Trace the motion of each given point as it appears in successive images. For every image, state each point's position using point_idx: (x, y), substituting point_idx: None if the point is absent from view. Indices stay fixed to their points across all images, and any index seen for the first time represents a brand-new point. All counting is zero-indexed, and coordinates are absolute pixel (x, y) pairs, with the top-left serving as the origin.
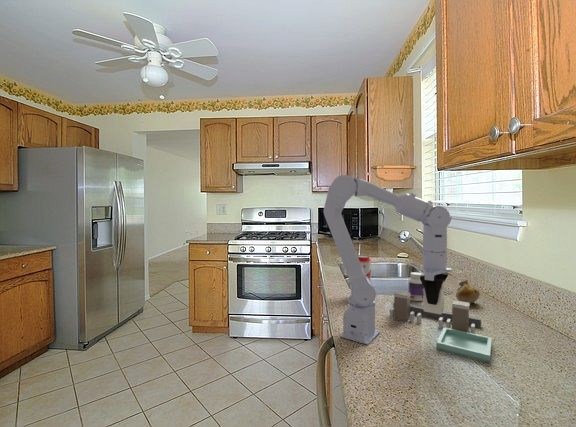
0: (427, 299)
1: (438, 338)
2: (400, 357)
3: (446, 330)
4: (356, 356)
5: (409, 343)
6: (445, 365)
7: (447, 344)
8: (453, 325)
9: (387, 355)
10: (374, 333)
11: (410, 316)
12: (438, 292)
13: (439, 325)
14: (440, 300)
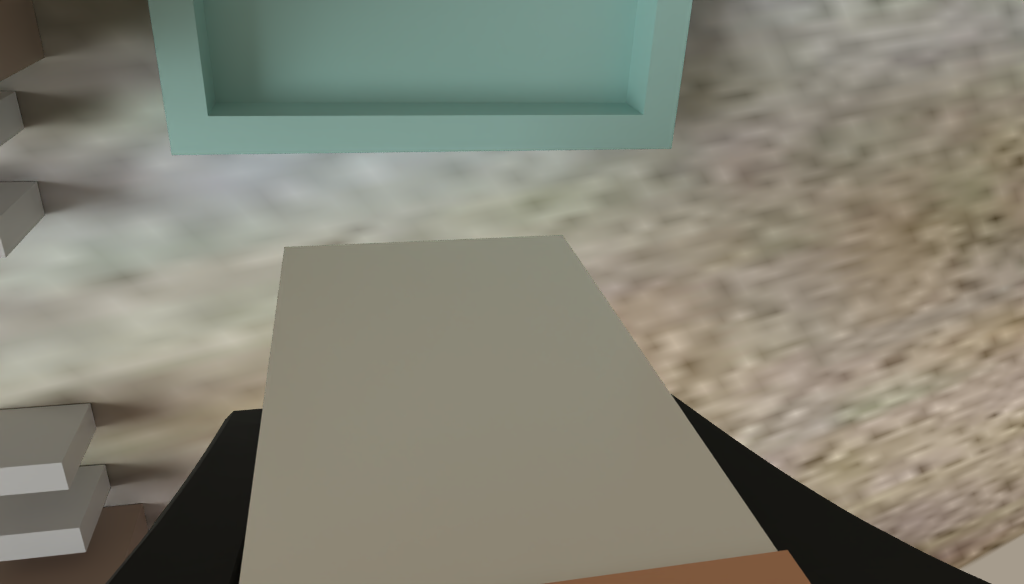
0: None
1: (565, 149)
2: (888, 318)
3: (234, 112)
4: (957, 508)
5: (634, 338)
6: (904, 10)
7: (671, 43)
8: (7, 53)
9: (889, 390)
10: None
11: (92, 522)
12: (860, 523)
13: (30, 216)
14: (643, 373)
